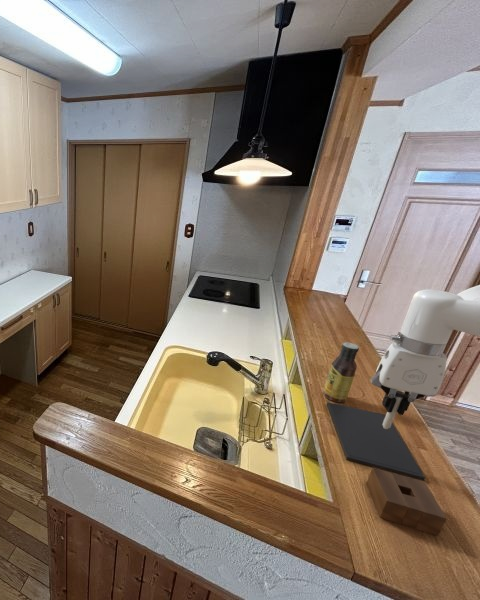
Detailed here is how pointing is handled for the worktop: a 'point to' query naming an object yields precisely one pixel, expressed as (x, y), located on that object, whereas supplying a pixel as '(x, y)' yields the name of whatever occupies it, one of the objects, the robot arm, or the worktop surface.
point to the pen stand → (405, 501)
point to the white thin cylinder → (393, 411)
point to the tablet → (372, 441)
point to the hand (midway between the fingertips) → (392, 409)
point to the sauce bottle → (341, 374)
